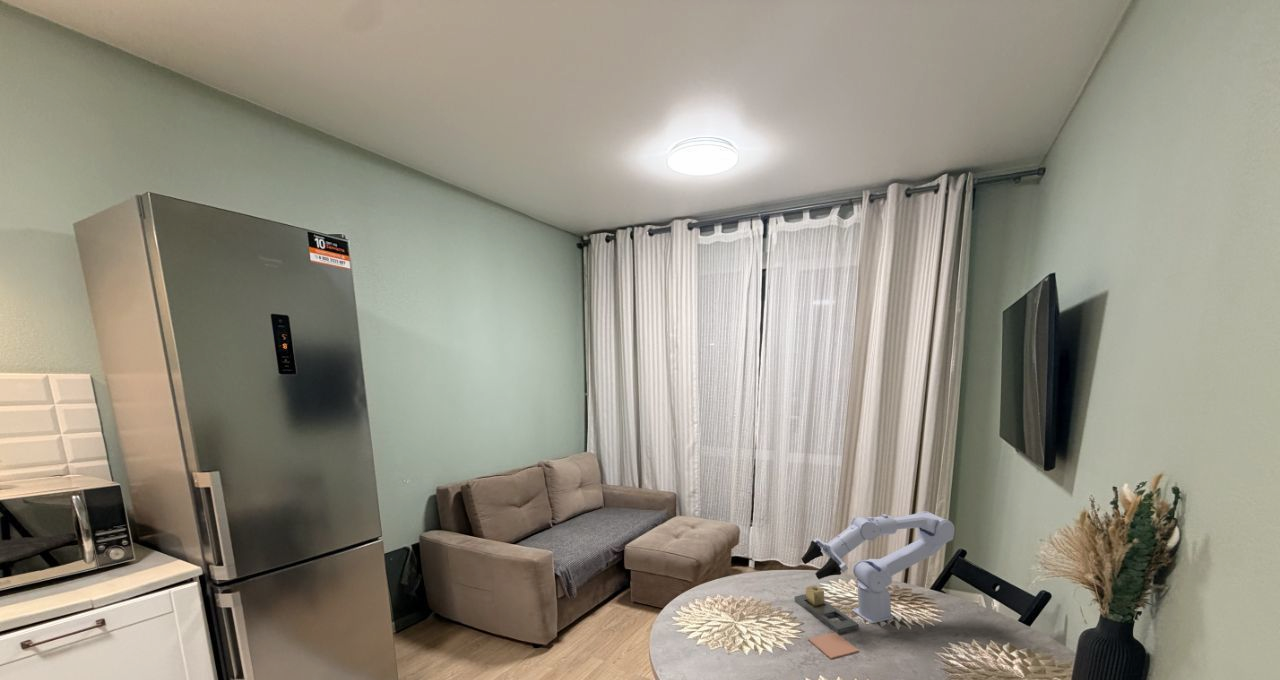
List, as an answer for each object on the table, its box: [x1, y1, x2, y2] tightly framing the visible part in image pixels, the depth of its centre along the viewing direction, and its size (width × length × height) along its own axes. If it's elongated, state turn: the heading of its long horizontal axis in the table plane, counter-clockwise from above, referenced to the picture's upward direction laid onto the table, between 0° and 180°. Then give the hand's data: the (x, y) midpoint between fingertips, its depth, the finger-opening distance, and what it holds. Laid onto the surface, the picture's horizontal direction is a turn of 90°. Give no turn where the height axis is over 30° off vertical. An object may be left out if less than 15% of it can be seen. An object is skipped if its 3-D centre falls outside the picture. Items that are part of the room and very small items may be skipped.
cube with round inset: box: [805, 584, 825, 608], centre depth 149 cm, size 4×4×6 cm
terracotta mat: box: [808, 631, 860, 660], centre depth 128 cm, size 10×9×1 cm
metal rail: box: [794, 593, 860, 635], centre depth 144 cm, size 8×20×2 cm, turn 19°
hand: (809, 569), depth 143 cm, fingers open, 7 cm apart
